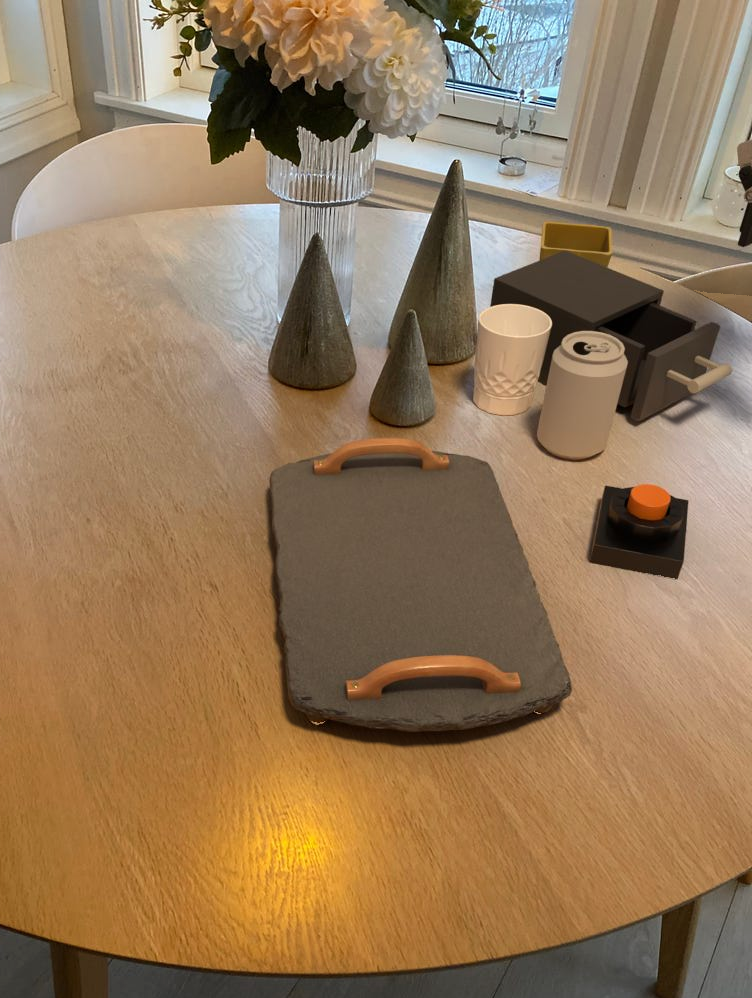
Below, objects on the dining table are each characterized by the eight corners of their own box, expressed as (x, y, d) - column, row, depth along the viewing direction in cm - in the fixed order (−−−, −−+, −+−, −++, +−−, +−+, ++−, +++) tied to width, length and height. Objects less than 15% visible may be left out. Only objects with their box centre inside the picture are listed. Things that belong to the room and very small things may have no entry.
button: (628, 496, 96) (632, 481, 94) (667, 503, 95) (672, 487, 93) (624, 517, 93) (629, 502, 92) (664, 524, 92) (669, 509, 91)
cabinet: (643, 366, 120) (664, 290, 114) (575, 400, 115) (593, 322, 108) (550, 323, 129) (564, 250, 122) (483, 353, 123) (494, 278, 117)
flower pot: (597, 292, 135) (612, 225, 129) (597, 321, 129) (613, 253, 123) (531, 286, 137) (543, 220, 130) (528, 315, 131) (540, 247, 124)
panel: (600, 503, 101) (609, 470, 98) (682, 518, 99) (693, 484, 96) (589, 562, 94) (598, 529, 91) (677, 580, 92) (689, 546, 89)
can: (535, 423, 112) (555, 323, 103) (604, 429, 110) (630, 329, 102) (534, 460, 106) (555, 357, 98) (606, 467, 105) (633, 364, 97)
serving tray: (581, 743, 78) (598, 689, 74) (288, 758, 77) (288, 704, 73) (481, 465, 106) (489, 414, 101) (264, 474, 105) (263, 423, 101)
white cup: (536, 421, 112) (553, 339, 105) (466, 416, 113) (477, 334, 106) (535, 386, 117) (551, 306, 110) (468, 381, 118) (479, 301, 112)
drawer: (732, 403, 112) (755, 339, 107) (670, 437, 108) (691, 372, 102) (606, 345, 123) (621, 283, 117) (545, 374, 118) (557, 311, 112)
